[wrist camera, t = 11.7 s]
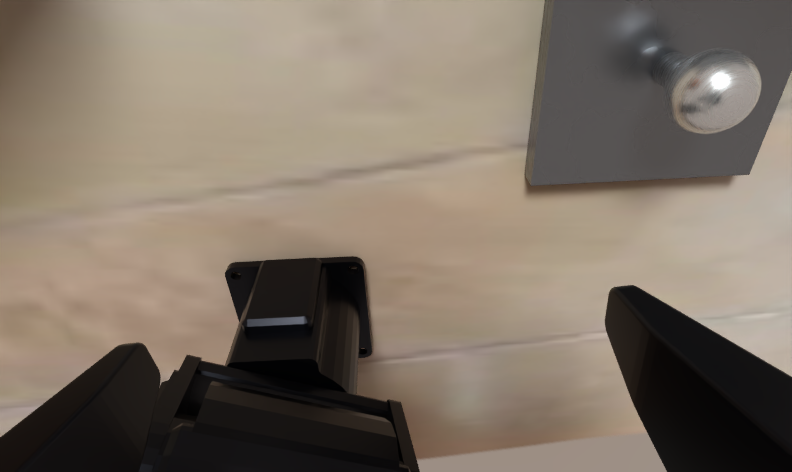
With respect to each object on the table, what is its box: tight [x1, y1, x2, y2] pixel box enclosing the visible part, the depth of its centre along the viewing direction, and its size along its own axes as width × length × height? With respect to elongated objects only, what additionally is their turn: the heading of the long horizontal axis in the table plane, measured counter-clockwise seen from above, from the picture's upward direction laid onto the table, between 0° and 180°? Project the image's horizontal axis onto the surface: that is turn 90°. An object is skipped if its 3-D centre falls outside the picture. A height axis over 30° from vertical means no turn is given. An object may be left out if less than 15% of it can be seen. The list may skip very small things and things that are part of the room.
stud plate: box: [525, 0, 792, 186], centre depth 16 cm, size 9×9×5 cm
